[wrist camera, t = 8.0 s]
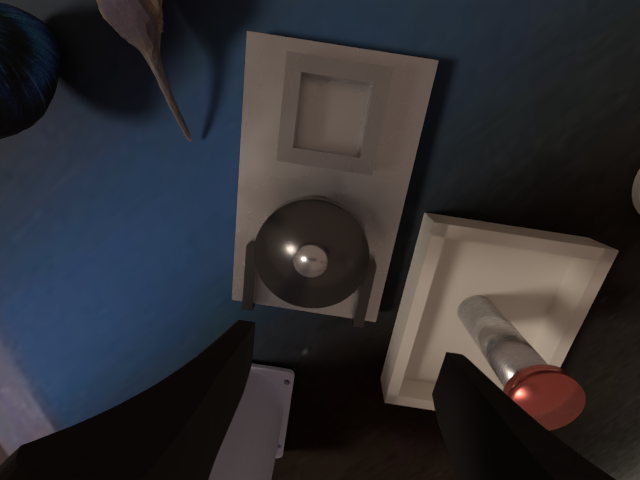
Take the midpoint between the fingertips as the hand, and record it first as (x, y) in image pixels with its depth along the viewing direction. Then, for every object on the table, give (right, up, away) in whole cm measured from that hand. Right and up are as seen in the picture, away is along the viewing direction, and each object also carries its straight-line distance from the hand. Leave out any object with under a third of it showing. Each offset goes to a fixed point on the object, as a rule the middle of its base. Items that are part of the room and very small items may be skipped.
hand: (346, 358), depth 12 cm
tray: (+10, -1, +11) cm, 15 cm away
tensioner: (-1, +7, +8) cm, 11 cm away
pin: (+10, 0, +10) cm, 14 cm away
